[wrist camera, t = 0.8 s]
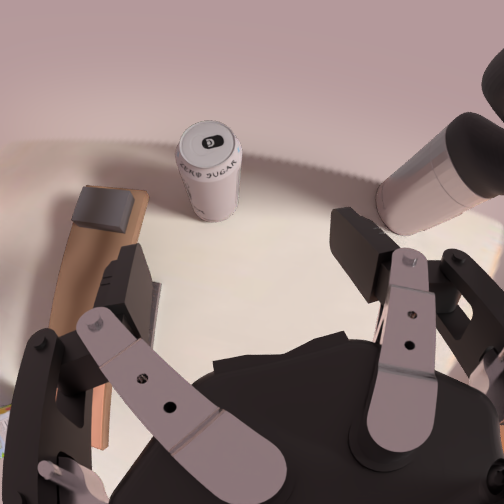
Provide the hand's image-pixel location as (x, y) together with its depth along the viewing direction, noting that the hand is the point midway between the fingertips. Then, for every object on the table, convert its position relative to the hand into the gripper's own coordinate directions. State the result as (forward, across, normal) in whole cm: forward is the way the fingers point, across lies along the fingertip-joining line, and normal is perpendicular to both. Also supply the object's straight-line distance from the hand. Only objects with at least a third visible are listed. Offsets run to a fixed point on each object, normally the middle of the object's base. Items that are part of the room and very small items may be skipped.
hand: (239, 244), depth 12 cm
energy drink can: (+26, 0, +9) cm, 27 cm away
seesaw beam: (+12, +16, +13) cm, 24 cm away
